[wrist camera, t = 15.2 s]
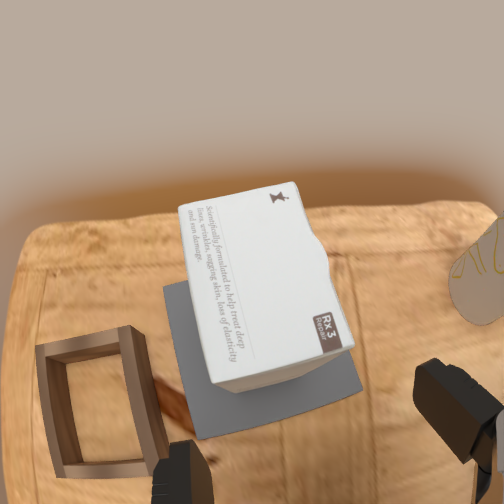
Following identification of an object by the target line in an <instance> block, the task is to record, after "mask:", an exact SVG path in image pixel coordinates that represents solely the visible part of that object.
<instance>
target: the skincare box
mask: <svg viewBox="0 0 504 504" xmlns="http://www.w3.org/2000/svg"><path fill="white" fill-rule="evenodd" d="M178 215H179V223H180V231H181V239H182V246H183V253H184V259H185V266H186V271H187V277H188V282H189V288H190V293H191V298H192V303H193V308H194V313H195V317H196V322H197V327H198V332H199V337H200V341H201V346H202V350H203V354H204V358H205V362H206V366H207V370H208V373H209V377H210V380H211V382H212V383H213V384H215V385H217V386H219V387H222V388H224V389H226V390H228V391H230V392H232V393H240V392H244V391H248V390H253V389H257V388H261V387H265V386H269V385H273V384H277V383H280V382H284V381H287V380H291V379H294V378H297V377H300V376H302V375H304V374H306V373H308V372H310V371H312V370H314V369H316V368H318V367H320V366H321V365H323V364H325V363H327V362H329V361H330V360H332V359H334V358H336V357H338V356H339V355H341V354H343V353H345V352H347V351H348V350H350V349H352V348H353V347H354V346H355V342H354V339H353V336H352V334H351V331H350V328H349V325H348V323H347V320H346V317H345V315H344V312H343V310H342V307H341V304H340V301H339V299H338V296H337V293H336V290H335V288H334V285H333V282H332V280H331V277H330V271H329V262H328V258H327V254H326V252H325V250H324V248H323V246H322V244H321V242H320V241H319V240H318V239H317V238H316V236H315V235H314V233H313V230H312V228H311V225H310V223H309V220H308V218H307V216H306V213H305V210H304V207H303V204H302V201H301V198H300V194H299V191H298V188H297V186H296V184H295V183H294V182H287V183H283V184H279V185H274V186H268V187H264V188H259V189H254V190H250V191H246V192H241V193H237V194H232V195H228V196H224V197H218V198H213V199H208V200H203V201H197V202H193V203H189V204H185V205H181V206H179V208H178Z"/></svg>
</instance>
